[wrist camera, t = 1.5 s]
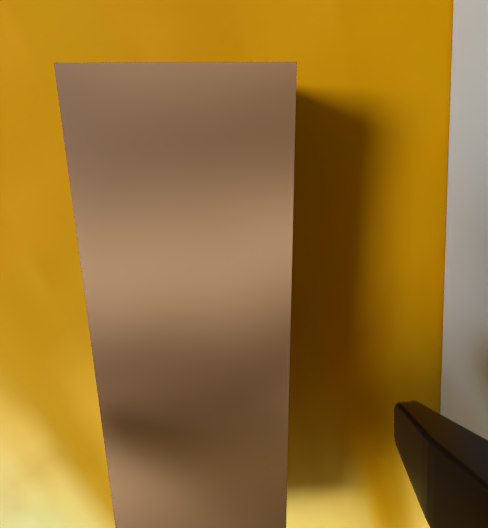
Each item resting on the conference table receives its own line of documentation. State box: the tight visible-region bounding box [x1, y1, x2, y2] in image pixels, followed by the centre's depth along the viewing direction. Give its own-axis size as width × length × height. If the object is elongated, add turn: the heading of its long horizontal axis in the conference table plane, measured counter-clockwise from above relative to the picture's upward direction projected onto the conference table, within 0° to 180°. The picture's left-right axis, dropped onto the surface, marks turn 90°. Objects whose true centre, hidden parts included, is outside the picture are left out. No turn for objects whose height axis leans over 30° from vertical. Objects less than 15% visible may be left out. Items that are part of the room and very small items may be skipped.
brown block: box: [54, 62, 297, 528], centre depth 13 cm, size 15×5×4 cm, turn 1°
